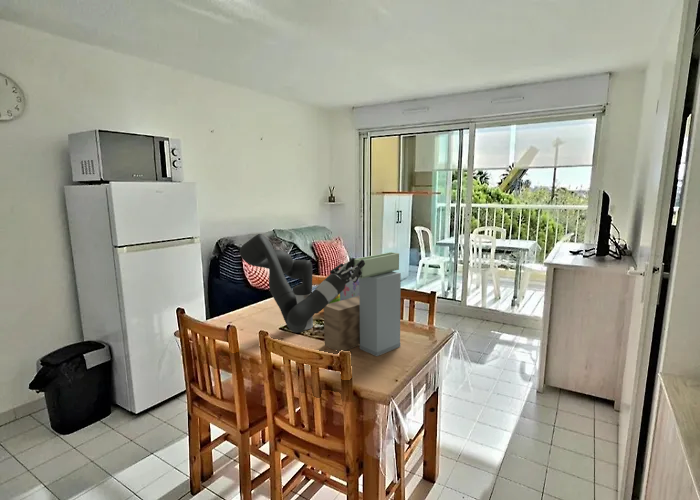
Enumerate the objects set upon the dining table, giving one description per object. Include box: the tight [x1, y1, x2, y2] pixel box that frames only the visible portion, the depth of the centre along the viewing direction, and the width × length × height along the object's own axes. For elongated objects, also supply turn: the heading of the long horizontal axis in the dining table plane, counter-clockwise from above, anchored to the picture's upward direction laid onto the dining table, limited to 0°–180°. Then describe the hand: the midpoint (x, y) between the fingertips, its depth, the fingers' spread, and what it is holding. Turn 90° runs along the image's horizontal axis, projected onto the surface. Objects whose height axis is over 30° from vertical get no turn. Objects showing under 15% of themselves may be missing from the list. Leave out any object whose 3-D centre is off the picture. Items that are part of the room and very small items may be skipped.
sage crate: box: [353, 251, 400, 278], centre depth 156 cm, size 22×4×7 cm, turn 133°
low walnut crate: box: [323, 296, 360, 353], centre depth 168 cm, size 23×10×18 cm, turn 131°
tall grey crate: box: [359, 271, 402, 357], centre depth 160 cm, size 14×10×32 cm
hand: (359, 260), depth 148 cm, fingers closed on sage crate, 4 cm apart
